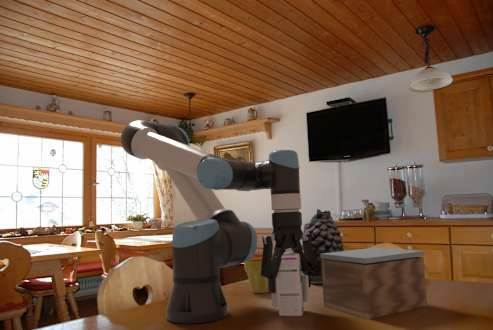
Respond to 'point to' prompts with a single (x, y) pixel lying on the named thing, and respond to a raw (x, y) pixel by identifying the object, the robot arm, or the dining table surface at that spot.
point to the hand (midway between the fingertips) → (291, 303)
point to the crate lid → (372, 255)
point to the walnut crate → (374, 286)
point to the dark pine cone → (323, 239)
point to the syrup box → (290, 285)
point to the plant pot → (256, 276)
